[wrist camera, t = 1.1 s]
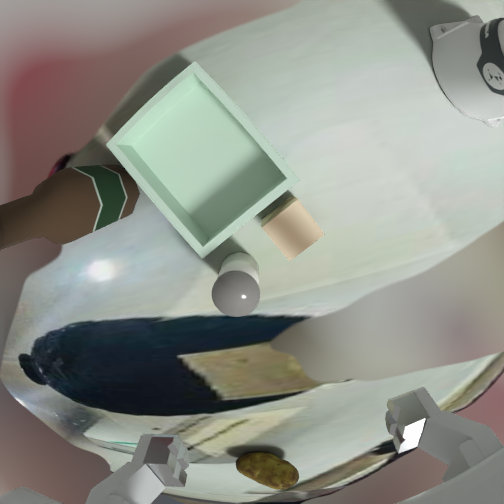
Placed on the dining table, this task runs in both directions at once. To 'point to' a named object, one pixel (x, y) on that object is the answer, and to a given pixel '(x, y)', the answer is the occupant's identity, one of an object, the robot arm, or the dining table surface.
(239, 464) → the potato
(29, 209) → the beer bottle
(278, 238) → the beech cube
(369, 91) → the dining table surface
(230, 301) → the white jar
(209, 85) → the tote
